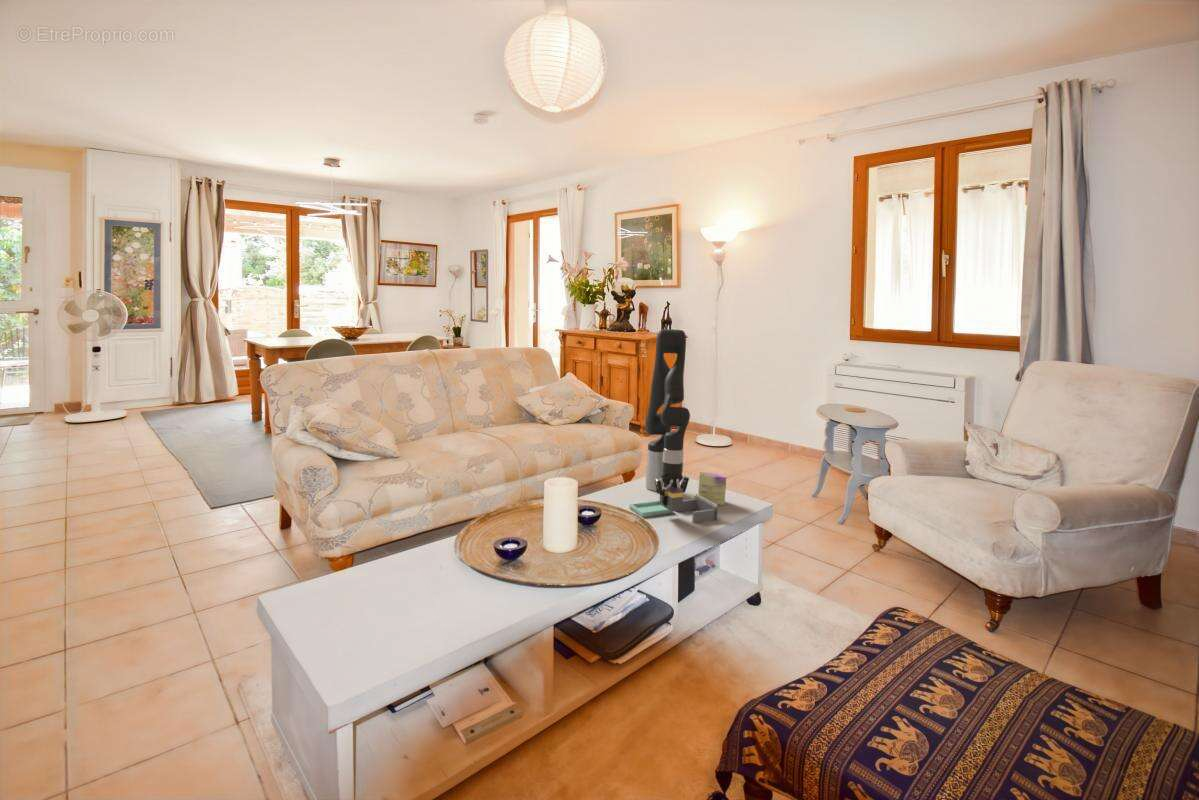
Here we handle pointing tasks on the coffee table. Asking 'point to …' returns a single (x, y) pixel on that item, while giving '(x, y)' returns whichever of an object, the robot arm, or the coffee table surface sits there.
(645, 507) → the tray
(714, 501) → the box
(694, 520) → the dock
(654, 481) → the robot arm
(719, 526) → the coffee table surface
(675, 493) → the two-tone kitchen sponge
